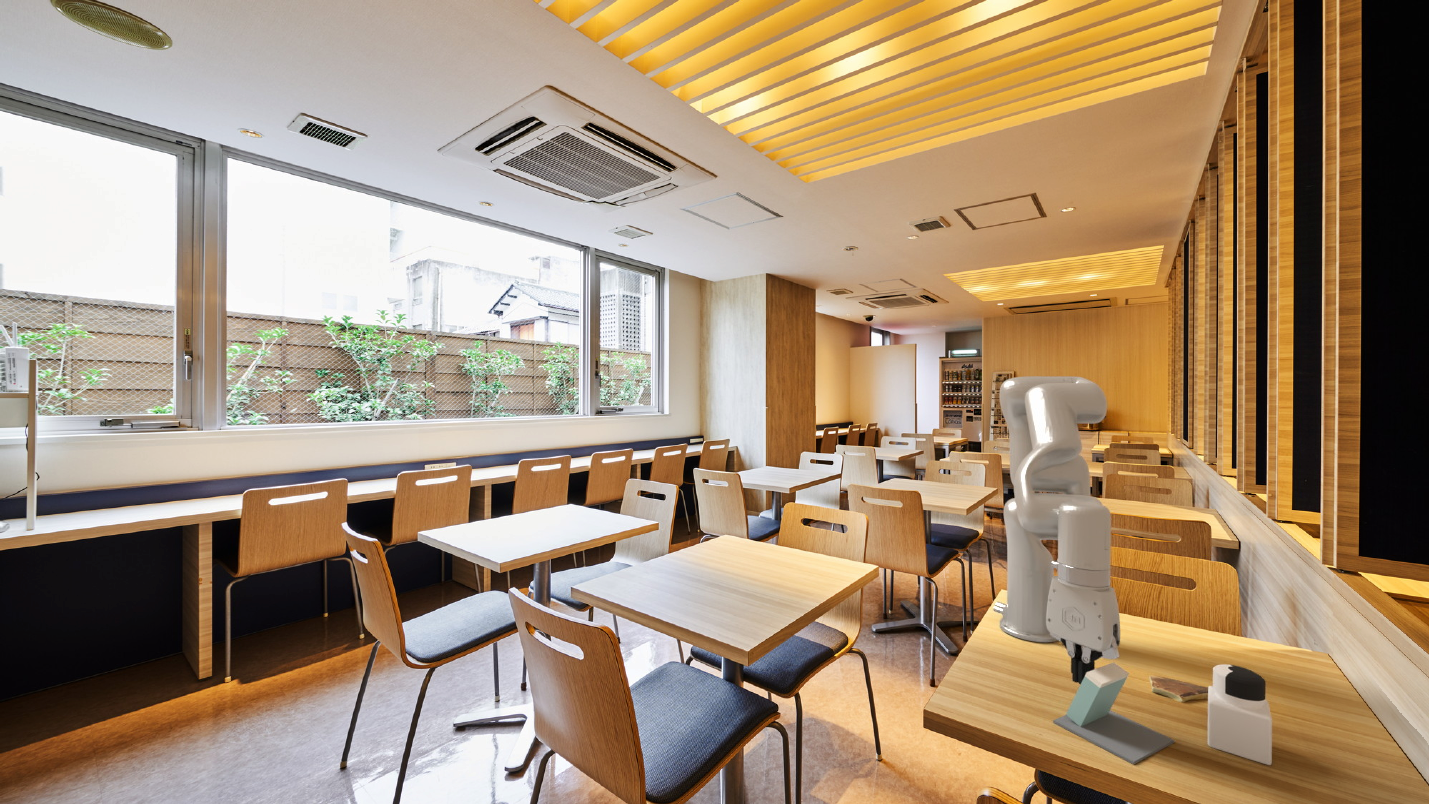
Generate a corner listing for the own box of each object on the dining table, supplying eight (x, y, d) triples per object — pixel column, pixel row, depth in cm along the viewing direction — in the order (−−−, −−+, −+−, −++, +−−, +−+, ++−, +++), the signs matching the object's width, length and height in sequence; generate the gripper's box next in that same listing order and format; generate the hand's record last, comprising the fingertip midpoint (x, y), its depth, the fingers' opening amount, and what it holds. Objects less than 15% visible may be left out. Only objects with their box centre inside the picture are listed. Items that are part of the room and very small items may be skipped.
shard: (1223, 698, 103) (1223, 688, 103) (1231, 717, 96) (1231, 707, 96) (1148, 681, 109) (1148, 672, 109) (1152, 698, 102) (1152, 688, 102)
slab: (1065, 714, 94) (1086, 672, 91) (1093, 702, 97) (1114, 662, 94) (1080, 727, 92) (1101, 684, 89) (1107, 714, 95) (1129, 673, 92)
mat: (1053, 722, 94) (1053, 720, 94) (1094, 705, 99) (1094, 702, 99) (1133, 764, 83) (1133, 761, 83) (1174, 742, 88) (1174, 739, 88)
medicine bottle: (1267, 745, 88) (1268, 669, 88) (1271, 767, 83) (1272, 686, 82) (1207, 727, 93) (1208, 655, 93) (1207, 746, 87) (1208, 670, 87)
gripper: (1027, 566, 100) (1027, 667, 100) (1119, 591, 87) (1118, 709, 87) (1053, 560, 103) (1052, 659, 103) (1145, 584, 90) (1144, 697, 90)
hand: (1082, 681), depth 95 cm, fingers closed
